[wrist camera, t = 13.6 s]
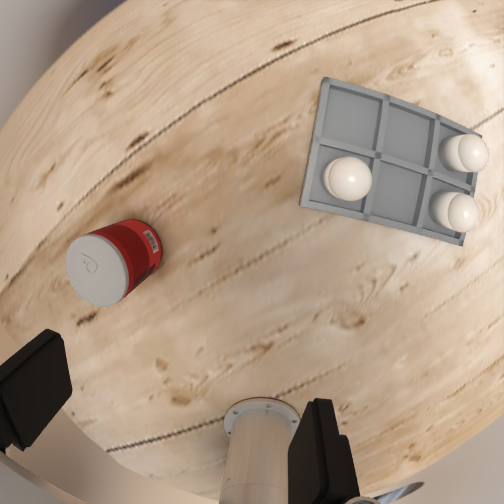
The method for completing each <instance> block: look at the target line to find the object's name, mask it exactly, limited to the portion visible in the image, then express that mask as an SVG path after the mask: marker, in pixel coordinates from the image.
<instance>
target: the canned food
mask: <svg viewBox="0 0 504 504" xmlns="http://www.w3.org/2000/svg"><path fill="white" fill-rule="evenodd" d="M161 252H162V251H161V244H160V240H159V238H158V236H157V234H156V233H155V231H154V230H153V229H152V228H151V227H150V226H148V225H147V224H145V223H143V222H141V221H137V220H124V221H121V222H118V223H115V224H112V225H109V226H106V227H104V228H101V229H98V230H95V231H92V232H89V233H87V234H85V235H82V236H80V237H79V238H77V239H75V240H74V241H73V242H72V243H71V245H70V246H69V248H68V251H67V254H66V271H67V275H68V278H69V281H70V283H71V285H72V287H73V288H74V290H75V291H76V292H77V294H78V295H79V296H80V297H81V298H82V299H84V300H85V301H86V302H88V303H90V304H92V305H94V306H97V307H110V306H113V305H114V304H116V303H118V302H119V301H121V300H122V299H123V298H124V297H126V296H127V295H128V294H129V293H130V292H131V291H132V290H133V289H135V288H136V287H137V286H138V285H139V284H140V283H141V282H143V281H144V280H145V279H146V278H147V277H148V276H149V275H151V274H152V273H153V272H154V271H155V270H156V268H157V267H158V265H159V262H160V259H161Z"/></svg>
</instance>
